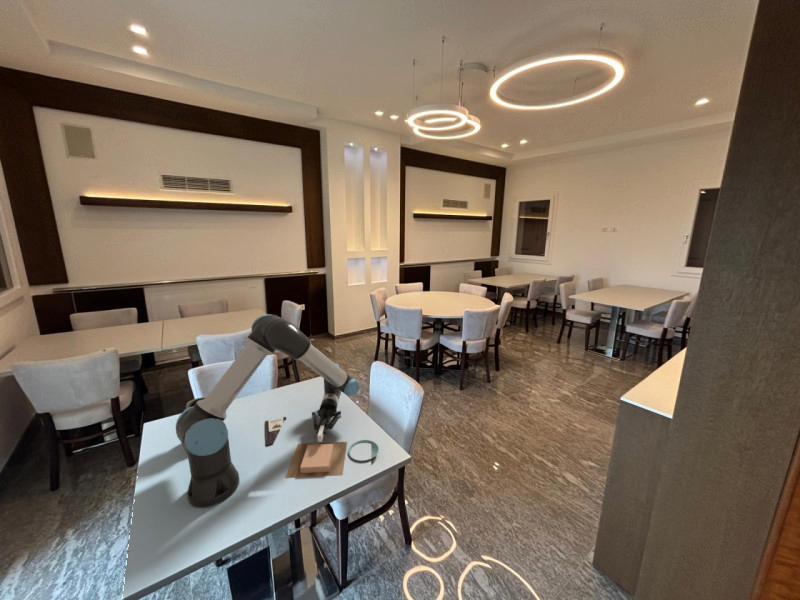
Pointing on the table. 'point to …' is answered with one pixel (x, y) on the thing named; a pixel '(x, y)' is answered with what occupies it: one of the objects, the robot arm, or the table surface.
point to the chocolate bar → (273, 429)
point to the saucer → (373, 448)
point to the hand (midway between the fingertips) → (319, 438)
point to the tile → (317, 458)
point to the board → (335, 469)
